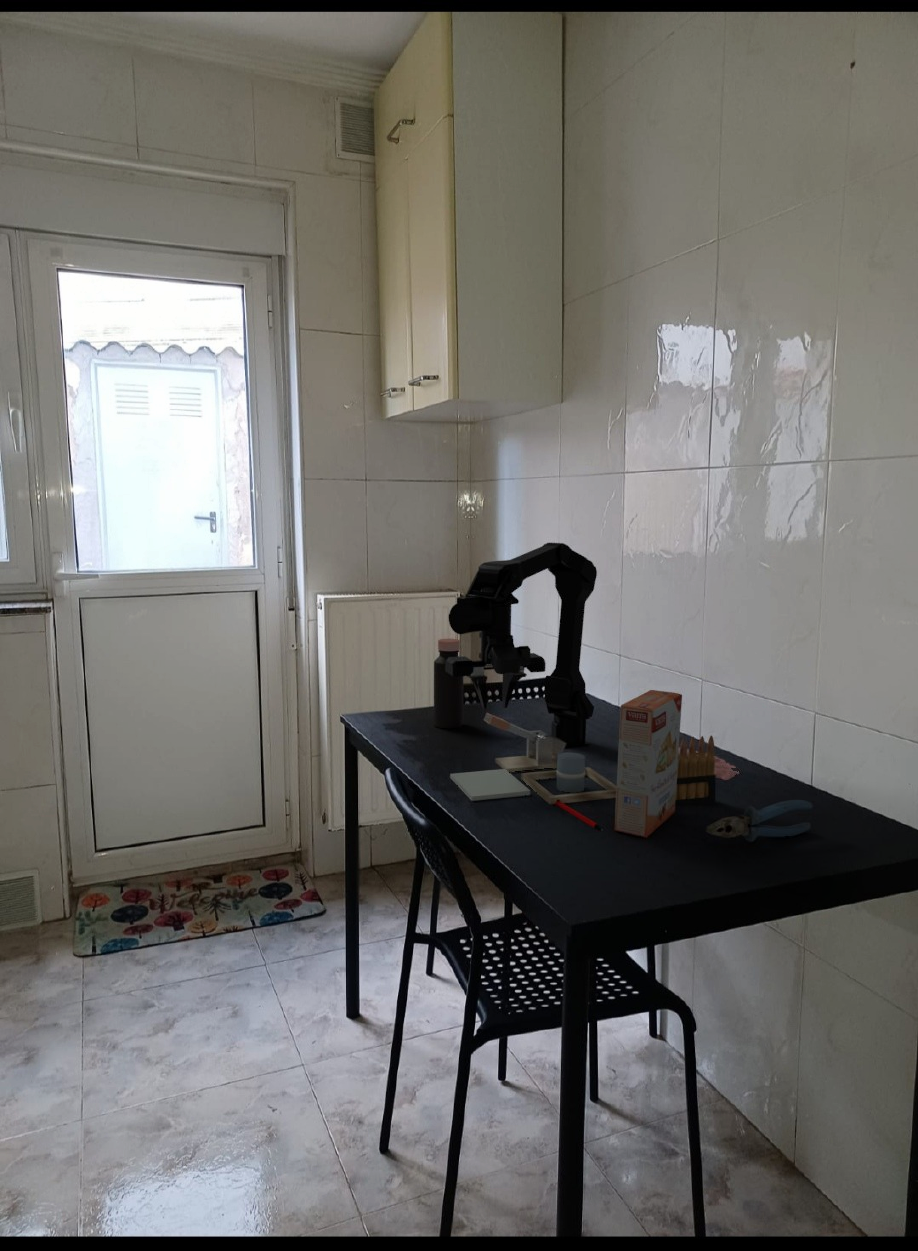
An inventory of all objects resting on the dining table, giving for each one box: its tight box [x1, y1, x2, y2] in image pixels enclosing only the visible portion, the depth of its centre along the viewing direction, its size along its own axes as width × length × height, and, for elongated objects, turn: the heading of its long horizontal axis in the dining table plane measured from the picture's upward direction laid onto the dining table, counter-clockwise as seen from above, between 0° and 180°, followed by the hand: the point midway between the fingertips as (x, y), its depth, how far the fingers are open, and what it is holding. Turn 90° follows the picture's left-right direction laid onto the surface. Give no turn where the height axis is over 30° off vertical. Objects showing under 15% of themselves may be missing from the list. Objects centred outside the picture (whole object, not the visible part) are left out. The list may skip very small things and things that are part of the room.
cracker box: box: [614, 689, 683, 839], centre depth 143 cm, size 14×6×21 cm, turn 148°
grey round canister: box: [556, 752, 586, 794], centre depth 160 cm, size 5×5×6 cm
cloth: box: [678, 746, 740, 781], centre depth 177 cm, size 20×22×2 cm
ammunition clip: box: [675, 735, 717, 808], centre depth 152 cm, size 11×2×12 cm, turn 106°
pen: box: [555, 800, 603, 832], centre depth 149 cm, size 1×19×1 cm, turn 25°
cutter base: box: [494, 729, 557, 773], centre depth 174 cm, size 12×7×6 cm, turn 107°
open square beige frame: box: [520, 766, 617, 805], centre depth 161 cm, size 14×14×1 cm
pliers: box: [705, 799, 813, 843], centre depth 137 cm, size 20×2×6 cm, turn 113°
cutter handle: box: [483, 712, 566, 757], centre depth 173 cm, size 17×3×3 cm, turn 108°
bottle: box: [433, 638, 464, 730], centre depth 202 cm, size 7×7×20 cm
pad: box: [449, 768, 531, 802], centre depth 161 cm, size 11×13×1 cm
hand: (494, 708), depth 170 cm, fingers open, 4 cm apart
